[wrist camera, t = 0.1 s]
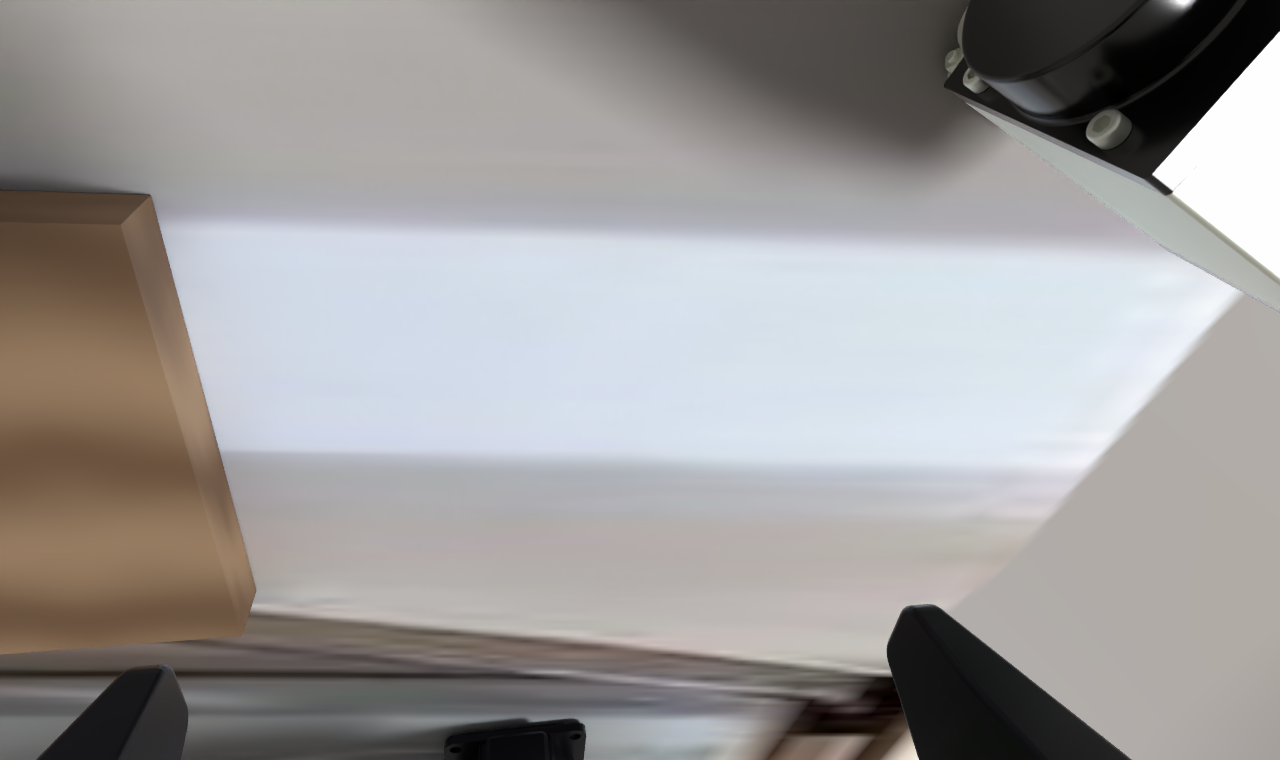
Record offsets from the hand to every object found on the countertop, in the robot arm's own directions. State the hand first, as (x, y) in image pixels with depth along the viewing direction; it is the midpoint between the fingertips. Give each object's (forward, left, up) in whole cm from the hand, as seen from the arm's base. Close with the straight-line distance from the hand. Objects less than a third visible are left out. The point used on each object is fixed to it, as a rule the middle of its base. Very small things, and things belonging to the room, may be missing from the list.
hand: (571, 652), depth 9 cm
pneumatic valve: (+6, -14, -15) cm, 21 cm away
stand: (-7, +15, -15) cm, 22 cm away
